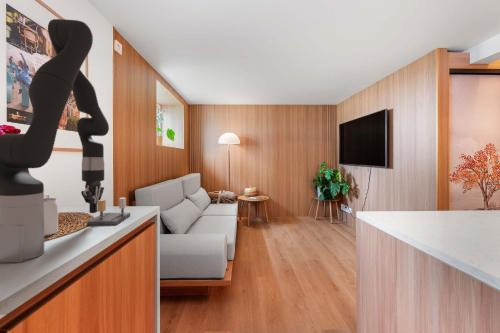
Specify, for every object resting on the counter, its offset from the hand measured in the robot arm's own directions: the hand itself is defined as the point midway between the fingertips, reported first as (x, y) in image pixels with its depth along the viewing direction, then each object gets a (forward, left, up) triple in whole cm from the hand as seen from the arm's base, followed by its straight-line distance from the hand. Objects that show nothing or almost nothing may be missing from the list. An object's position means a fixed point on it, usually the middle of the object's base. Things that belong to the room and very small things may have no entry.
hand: (93, 212), depth 98 cm
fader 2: (+13, -6, -3) cm, 14 cm away
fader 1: (+7, 0, -3) cm, 7 cm away
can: (-10, +11, -5) cm, 16 cm away
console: (+8, -3, -5) cm, 10 cm away
